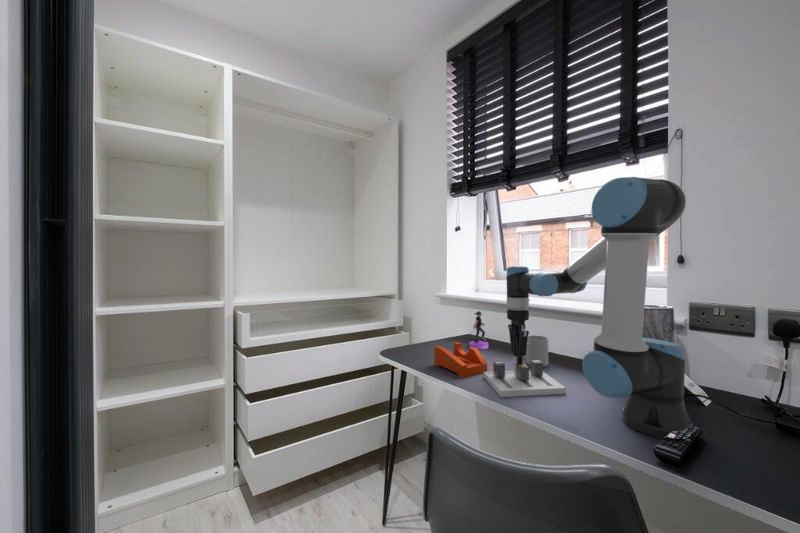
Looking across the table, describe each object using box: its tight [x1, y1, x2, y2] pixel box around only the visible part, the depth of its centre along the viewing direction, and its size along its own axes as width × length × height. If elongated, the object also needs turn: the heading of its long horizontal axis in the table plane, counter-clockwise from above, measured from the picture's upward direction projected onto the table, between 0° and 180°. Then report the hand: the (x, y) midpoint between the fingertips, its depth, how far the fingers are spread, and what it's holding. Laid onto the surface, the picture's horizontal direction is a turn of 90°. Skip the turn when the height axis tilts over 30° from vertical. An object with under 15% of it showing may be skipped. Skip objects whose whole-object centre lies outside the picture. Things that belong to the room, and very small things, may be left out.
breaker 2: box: [516, 363, 530, 381], centre depth 121 cm, size 4×3×5 cm
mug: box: [523, 335, 549, 368], centre depth 143 cm, size 12×8×11 cm
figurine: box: [468, 310, 489, 350], centre depth 171 cm, size 9×9×18 cm
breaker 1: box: [492, 361, 506, 378], centre depth 124 cm, size 4×3×5 cm
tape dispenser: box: [433, 341, 488, 379], centre depth 140 cm, size 18×13×8 cm
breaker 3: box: [529, 360, 544, 376], centre depth 125 cm, size 4×3×5 cm
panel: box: [483, 369, 567, 398], centre depth 121 cm, size 18×22×2 cm
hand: (518, 372), depth 124 cm, fingers closed
